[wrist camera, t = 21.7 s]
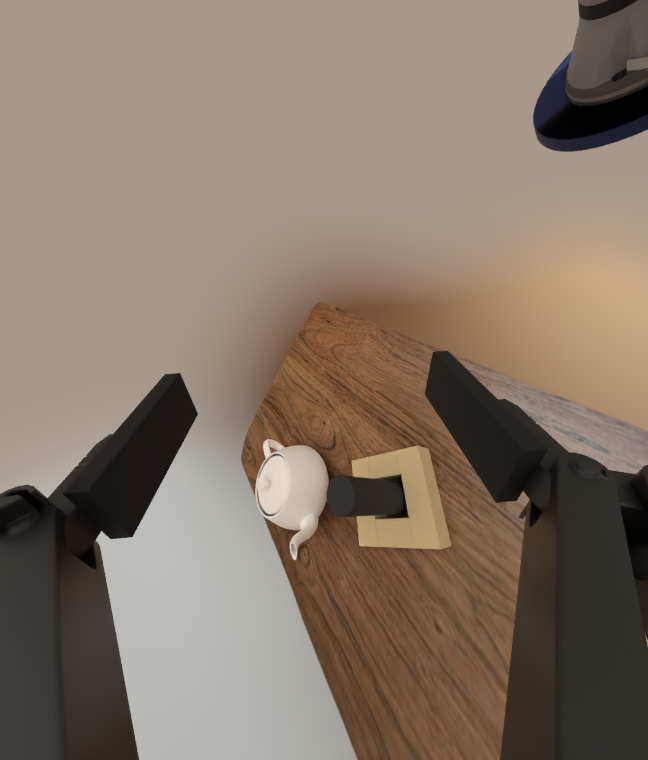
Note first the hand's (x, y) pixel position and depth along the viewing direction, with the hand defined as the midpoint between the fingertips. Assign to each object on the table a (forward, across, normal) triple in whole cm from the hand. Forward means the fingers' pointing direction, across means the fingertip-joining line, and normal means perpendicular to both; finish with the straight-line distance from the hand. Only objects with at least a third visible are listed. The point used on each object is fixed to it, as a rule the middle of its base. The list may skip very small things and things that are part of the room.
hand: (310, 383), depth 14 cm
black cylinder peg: (+8, +10, -25) cm, 28 cm away
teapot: (+17, -2, -34) cm, 38 cm away
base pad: (+8, +10, -25) cm, 28 cm away
